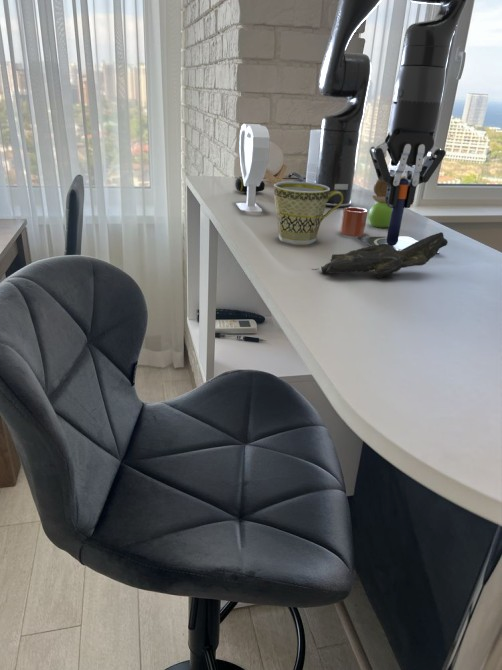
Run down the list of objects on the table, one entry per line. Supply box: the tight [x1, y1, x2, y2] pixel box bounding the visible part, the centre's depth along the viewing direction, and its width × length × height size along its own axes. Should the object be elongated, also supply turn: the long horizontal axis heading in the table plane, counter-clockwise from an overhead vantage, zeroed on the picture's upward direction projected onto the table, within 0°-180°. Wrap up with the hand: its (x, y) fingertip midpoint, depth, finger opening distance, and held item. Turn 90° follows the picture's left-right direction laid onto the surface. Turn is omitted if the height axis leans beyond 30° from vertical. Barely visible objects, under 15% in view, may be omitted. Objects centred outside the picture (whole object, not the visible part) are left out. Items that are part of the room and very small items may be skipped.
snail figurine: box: [367, 170, 406, 229], centre depth 104 cm, size 5×6×12 cm
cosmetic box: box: [305, 129, 321, 183], centre depth 145 cm, size 8×7×16 cm
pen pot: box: [340, 206, 369, 237], centre depth 99 cm, size 4×5×5 cm
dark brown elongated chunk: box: [320, 231, 449, 279], centre depth 78 cm, size 6×6×20 cm
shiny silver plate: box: [356, 235, 440, 255], centre depth 94 cm, size 11×11×1 cm
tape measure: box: [234, 176, 266, 195], centre depth 134 cm, size 7×7×4 cm
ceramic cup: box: [273, 180, 343, 245], centre depth 92 cm, size 13×10×10 cm
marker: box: [386, 178, 409, 246], centre depth 89 cm, size 2×2×12 cm
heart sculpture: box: [235, 123, 271, 213], centre depth 113 cm, size 16×5×18 cm, turn 11°
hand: (398, 206), depth 89 cm, fingers closed on marker, 2 cm apart
